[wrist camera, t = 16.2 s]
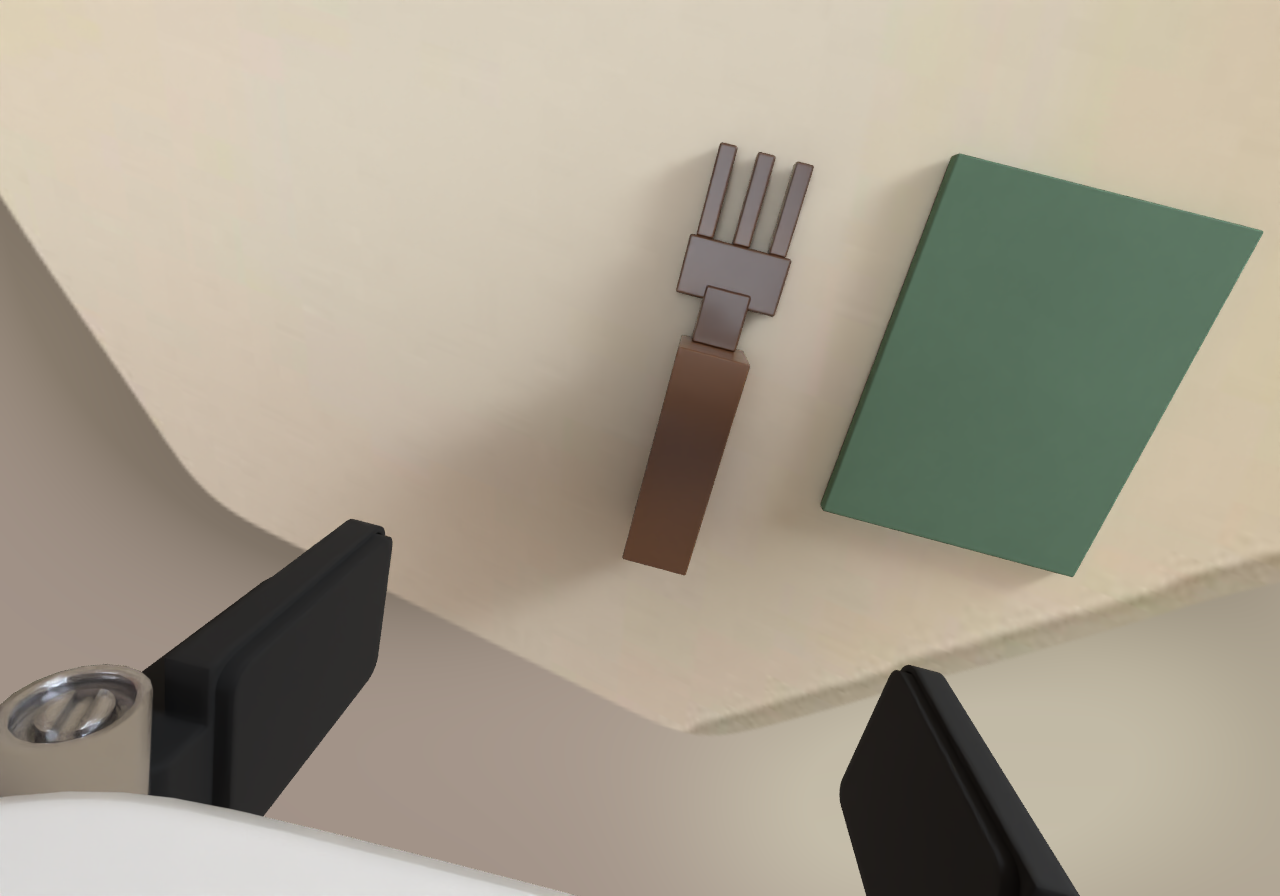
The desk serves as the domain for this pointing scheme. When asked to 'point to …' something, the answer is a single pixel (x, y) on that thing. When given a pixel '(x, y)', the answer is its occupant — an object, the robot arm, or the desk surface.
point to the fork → (710, 362)
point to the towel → (1030, 361)
